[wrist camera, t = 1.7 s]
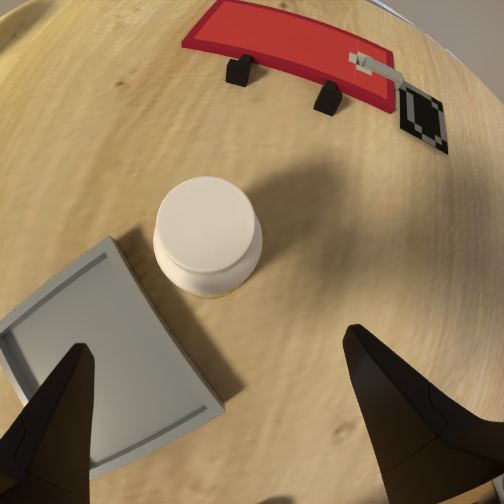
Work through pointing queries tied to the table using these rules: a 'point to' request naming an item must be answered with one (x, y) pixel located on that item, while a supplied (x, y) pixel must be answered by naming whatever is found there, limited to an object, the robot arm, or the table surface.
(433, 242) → the table surface
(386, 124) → the table surface
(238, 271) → the supplement bottle
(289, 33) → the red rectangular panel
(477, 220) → the table surface
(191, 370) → the tray
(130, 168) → the table surface
